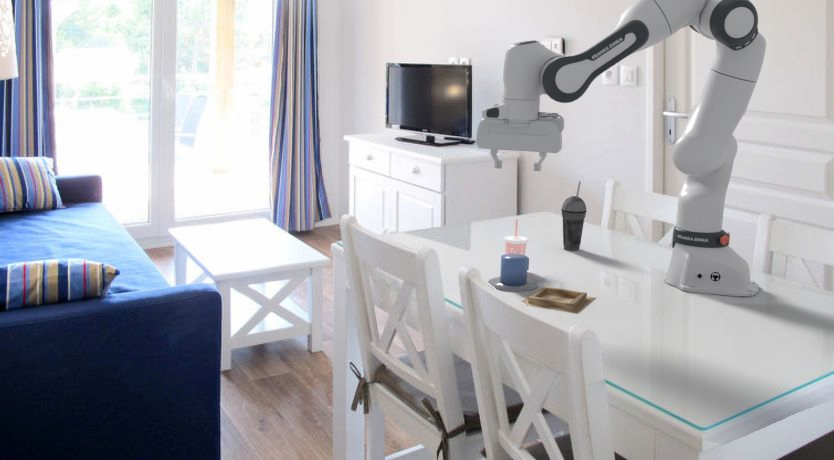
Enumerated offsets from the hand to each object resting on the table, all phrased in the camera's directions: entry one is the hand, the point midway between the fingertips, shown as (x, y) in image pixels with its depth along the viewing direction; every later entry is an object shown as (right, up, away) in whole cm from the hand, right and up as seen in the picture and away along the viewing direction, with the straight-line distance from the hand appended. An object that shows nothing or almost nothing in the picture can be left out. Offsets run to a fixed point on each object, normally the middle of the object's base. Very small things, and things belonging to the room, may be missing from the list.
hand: (517, 169), depth 211 cm
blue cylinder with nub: (+1, -27, +8) cm, 28 cm away
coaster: (-1, -28, +6) cm, 29 cm away
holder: (+9, -31, -6) cm, 33 cm away
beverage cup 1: (+2, -25, +21) cm, 33 cm away
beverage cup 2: (+21, -20, +46) cm, 55 cm away
